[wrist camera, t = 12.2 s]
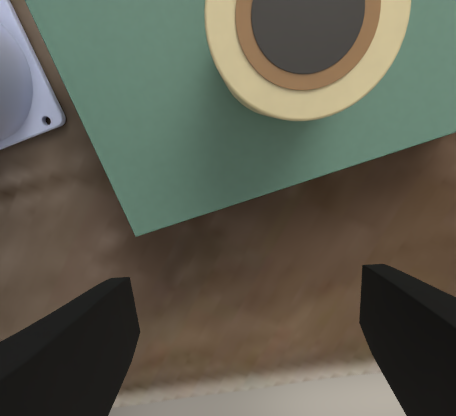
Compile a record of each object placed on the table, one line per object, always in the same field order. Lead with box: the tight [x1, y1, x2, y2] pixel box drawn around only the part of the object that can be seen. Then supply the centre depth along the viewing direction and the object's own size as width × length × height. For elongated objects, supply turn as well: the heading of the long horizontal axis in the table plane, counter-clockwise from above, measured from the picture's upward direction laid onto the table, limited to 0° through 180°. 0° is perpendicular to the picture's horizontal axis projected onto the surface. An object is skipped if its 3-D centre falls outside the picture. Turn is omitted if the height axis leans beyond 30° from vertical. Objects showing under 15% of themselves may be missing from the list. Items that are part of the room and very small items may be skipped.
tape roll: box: [204, 0, 411, 121], centre depth 10 cm, size 5×5×5 cm
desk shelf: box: [25, 0, 456, 236], centre depth 15 cm, size 18×11×5 cm, turn 109°
